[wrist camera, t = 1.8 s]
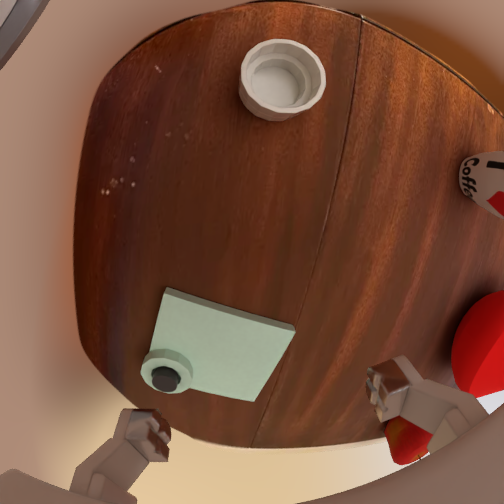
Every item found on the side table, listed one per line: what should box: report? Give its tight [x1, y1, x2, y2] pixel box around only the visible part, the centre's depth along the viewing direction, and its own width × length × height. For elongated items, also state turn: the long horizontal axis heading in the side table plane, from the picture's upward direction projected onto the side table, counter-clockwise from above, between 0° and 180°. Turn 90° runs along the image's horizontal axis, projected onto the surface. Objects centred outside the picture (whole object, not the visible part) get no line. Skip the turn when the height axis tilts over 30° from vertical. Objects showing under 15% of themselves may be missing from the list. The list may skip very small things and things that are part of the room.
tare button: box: [152, 366, 179, 392], centre depth 26 cm, size 3×3×2 cm
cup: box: [459, 151, 504, 219], centre depth 20 cm, size 8×8×10 cm
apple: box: [384, 415, 433, 465], centre depth 34 cm, size 9×8×12 cm
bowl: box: [239, 39, 326, 121], centre depth 19 cm, size 6×6×5 cm
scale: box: [141, 287, 296, 402], centre depth 28 cm, size 14×12×3 cm
